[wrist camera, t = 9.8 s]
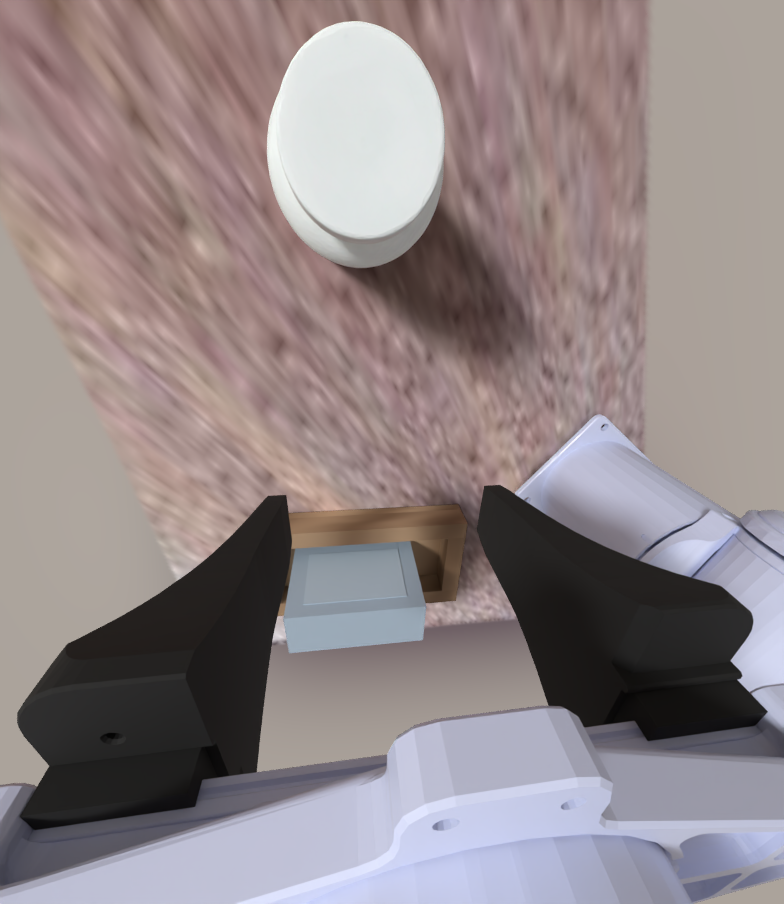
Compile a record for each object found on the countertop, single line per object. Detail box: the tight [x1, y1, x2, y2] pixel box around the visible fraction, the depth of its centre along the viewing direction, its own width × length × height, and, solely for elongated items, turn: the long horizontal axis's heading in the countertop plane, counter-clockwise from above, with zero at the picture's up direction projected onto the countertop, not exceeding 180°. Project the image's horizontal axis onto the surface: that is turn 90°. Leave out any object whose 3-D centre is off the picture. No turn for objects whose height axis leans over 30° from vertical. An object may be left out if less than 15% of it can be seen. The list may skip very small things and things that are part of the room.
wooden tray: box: [278, 504, 467, 616], centre depth 26 cm, size 14×7×2 cm, turn 89°
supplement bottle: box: [267, 21, 445, 268], centre depth 12 cm, size 5×5×10 cm
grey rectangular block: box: [283, 541, 426, 653], centre depth 23 cm, size 8×3×6 cm, turn 89°
